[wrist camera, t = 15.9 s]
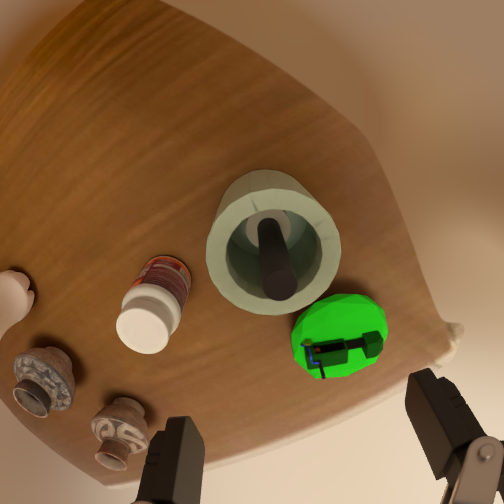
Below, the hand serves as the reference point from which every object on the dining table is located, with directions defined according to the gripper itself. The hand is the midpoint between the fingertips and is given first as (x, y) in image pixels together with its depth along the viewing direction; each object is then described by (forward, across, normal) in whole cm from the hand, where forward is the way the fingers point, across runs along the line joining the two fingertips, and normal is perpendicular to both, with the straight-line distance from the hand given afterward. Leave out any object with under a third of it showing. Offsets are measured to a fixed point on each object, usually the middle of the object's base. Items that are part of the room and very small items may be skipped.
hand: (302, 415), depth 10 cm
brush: (+26, 0, 0) cm, 26 cm away
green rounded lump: (+27, -6, +15) cm, 32 cm away
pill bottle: (+27, +13, +5) cm, 30 cm away
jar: (+27, 0, 0) cm, 27 cm away
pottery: (+27, +33, +21) cm, 48 cm away
